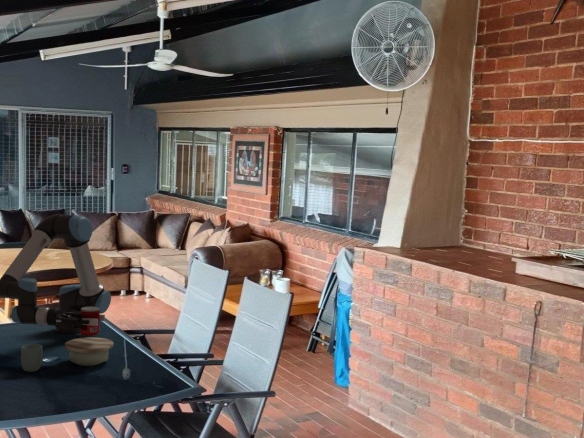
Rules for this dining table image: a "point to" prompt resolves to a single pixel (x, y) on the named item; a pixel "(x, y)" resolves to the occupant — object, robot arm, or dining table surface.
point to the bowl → (88, 358)
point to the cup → (31, 357)
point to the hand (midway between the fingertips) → (101, 320)
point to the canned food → (92, 314)
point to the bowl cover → (89, 345)
